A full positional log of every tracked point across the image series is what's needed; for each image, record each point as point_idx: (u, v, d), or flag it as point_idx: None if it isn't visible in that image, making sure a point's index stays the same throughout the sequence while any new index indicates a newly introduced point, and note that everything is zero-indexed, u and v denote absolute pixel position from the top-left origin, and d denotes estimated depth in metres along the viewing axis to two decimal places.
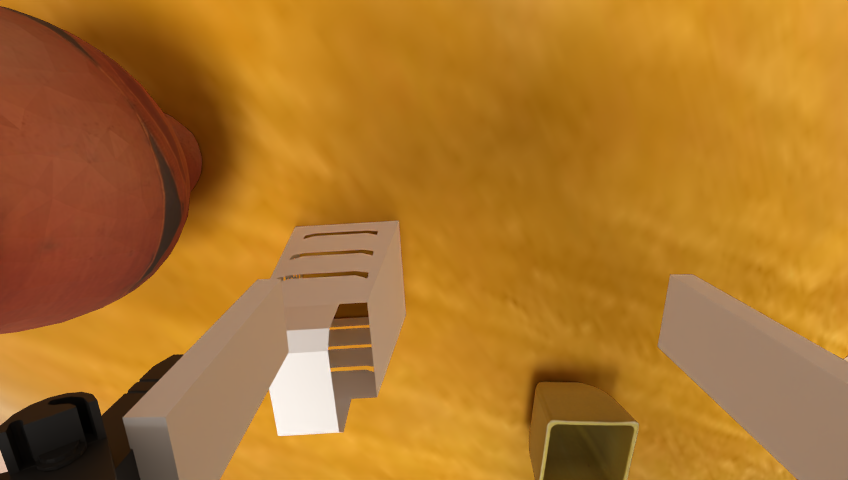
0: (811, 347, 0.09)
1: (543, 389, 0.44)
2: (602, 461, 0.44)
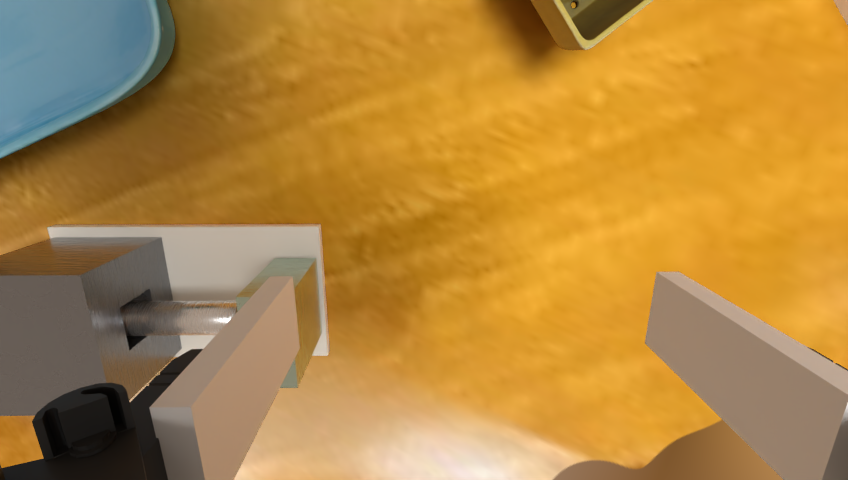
0: (788, 342, 0.10)
1: None
2: None
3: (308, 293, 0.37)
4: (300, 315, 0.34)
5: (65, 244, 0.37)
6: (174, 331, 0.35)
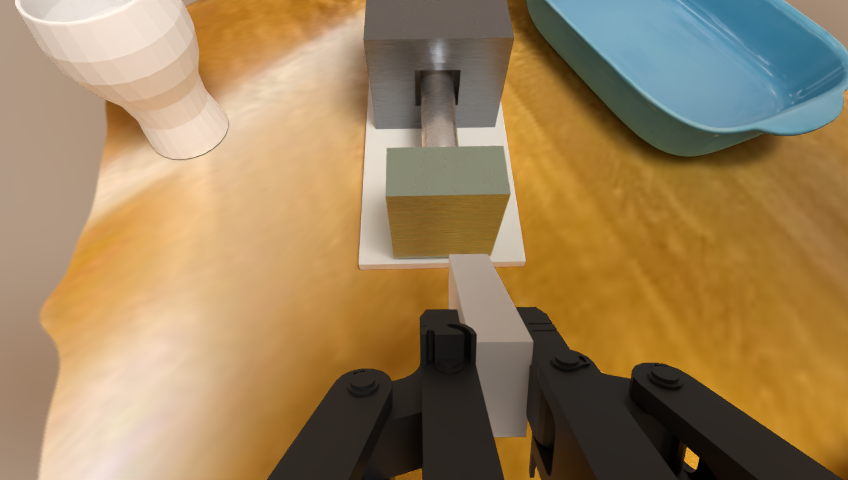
0: (506, 305, 0.12)
1: None
2: None
3: (470, 234, 0.31)
4: (463, 214, 0.29)
5: None
6: (432, 106, 0.34)
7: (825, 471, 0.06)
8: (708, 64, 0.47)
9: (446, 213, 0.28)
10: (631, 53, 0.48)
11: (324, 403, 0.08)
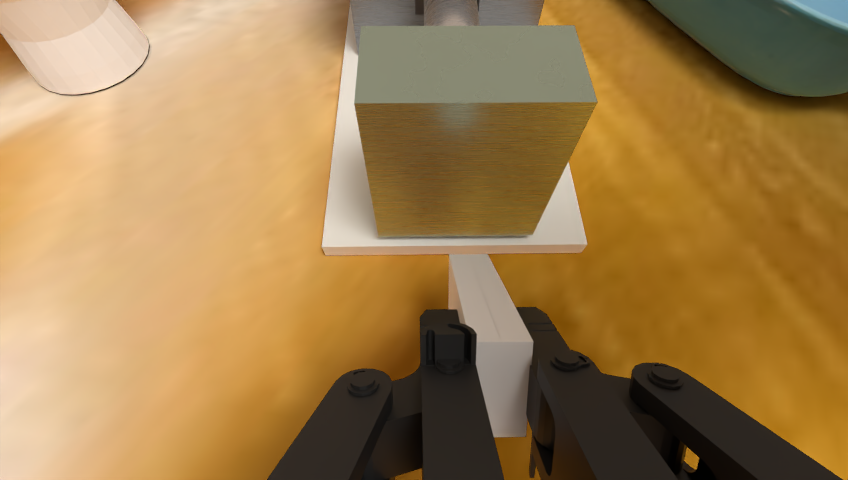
0: (506, 305, 0.12)
1: None
2: None
3: (505, 194, 0.18)
4: (500, 151, 0.16)
5: None
6: None
7: (825, 471, 0.06)
8: None
9: (469, 147, 0.16)
10: None
11: (324, 403, 0.08)
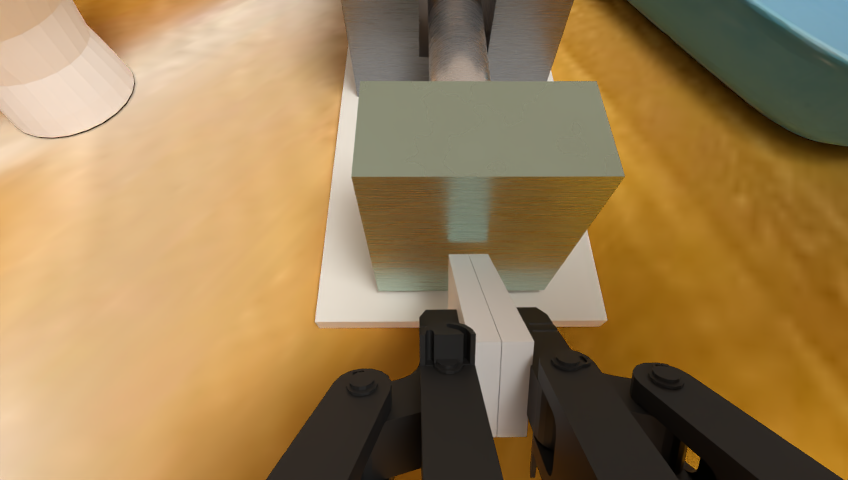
0: (506, 305, 0.12)
1: None
2: None
3: (517, 256, 0.17)
4: (513, 219, 0.14)
5: None
6: (448, 32, 0.20)
7: (826, 471, 0.06)
8: None
9: (479, 216, 0.14)
10: None
11: (323, 403, 0.08)
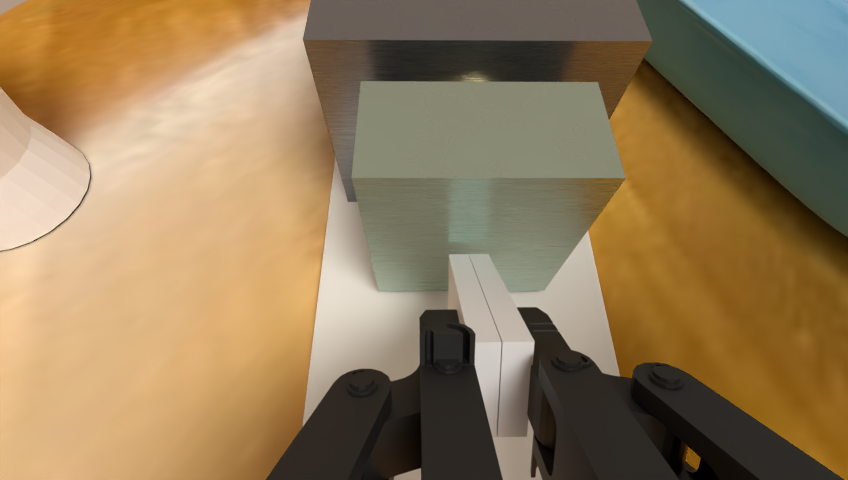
0: (507, 305, 0.12)
1: None
2: None
3: (517, 257, 0.17)
4: (514, 220, 0.14)
5: None
6: None
7: (826, 471, 0.06)
8: None
9: (479, 217, 0.14)
10: None
11: (323, 403, 0.08)
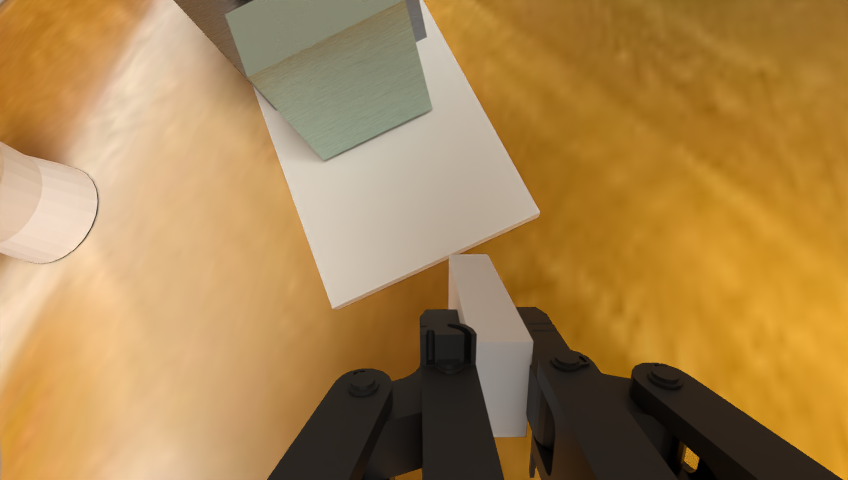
0: (506, 305, 0.12)
1: None
2: None
3: (390, 88, 0.24)
4: (365, 61, 0.21)
5: None
6: None
7: (825, 471, 0.06)
8: None
9: (342, 69, 0.21)
10: None
11: (324, 403, 0.08)
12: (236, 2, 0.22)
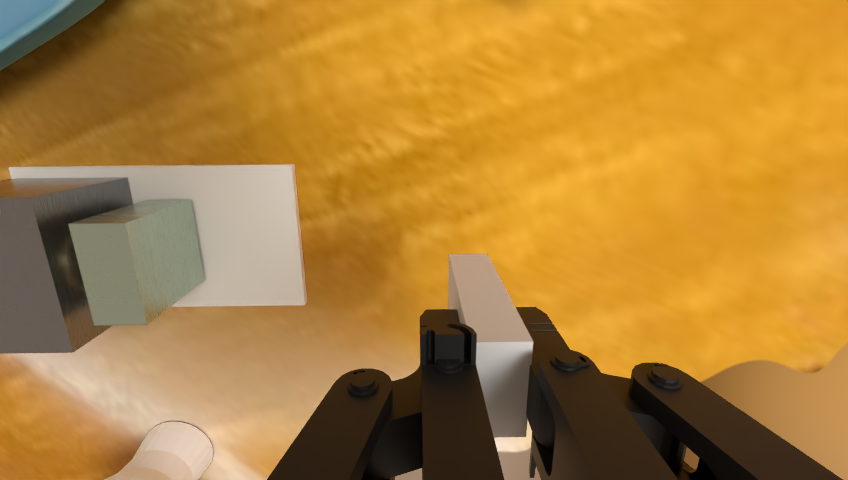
0: (506, 305, 0.12)
1: None
2: None
3: (172, 231, 0.35)
4: (153, 250, 0.33)
5: (25, 181, 0.36)
6: None
7: (825, 471, 0.06)
8: None
9: (154, 265, 0.33)
10: None
11: (324, 403, 0.08)
12: (80, 314, 0.32)
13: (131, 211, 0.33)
